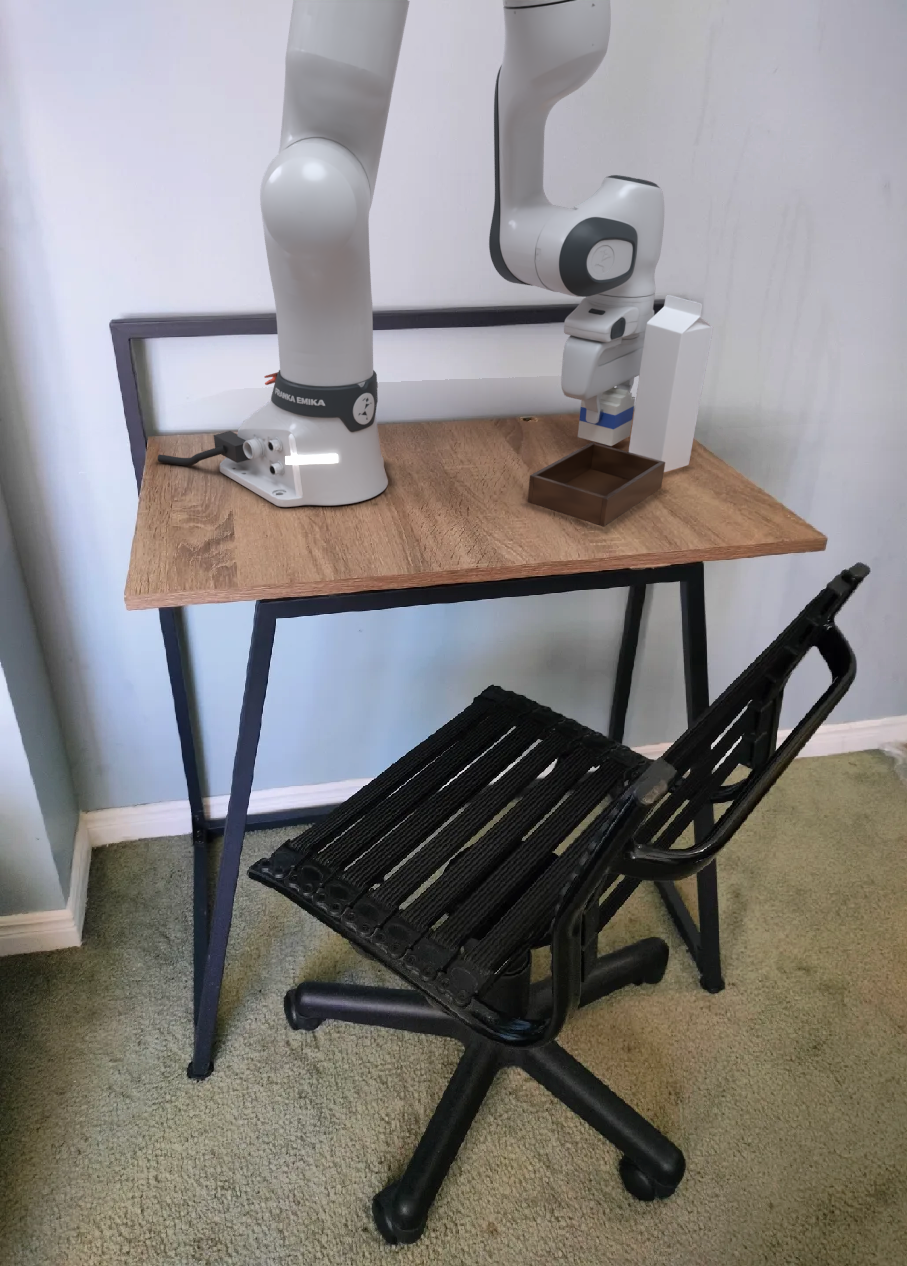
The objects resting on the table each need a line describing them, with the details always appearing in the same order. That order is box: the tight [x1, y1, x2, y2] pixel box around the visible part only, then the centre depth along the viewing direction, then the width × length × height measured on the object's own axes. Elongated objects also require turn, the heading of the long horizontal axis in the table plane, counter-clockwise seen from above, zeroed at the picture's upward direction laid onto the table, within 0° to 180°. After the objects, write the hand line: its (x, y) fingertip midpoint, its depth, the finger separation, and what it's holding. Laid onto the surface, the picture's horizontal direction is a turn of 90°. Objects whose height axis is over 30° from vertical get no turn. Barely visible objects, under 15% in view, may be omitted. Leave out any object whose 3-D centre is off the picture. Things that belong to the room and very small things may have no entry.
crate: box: [527, 441, 665, 528], centre depth 115 cm, size 11×15×4 cm
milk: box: [628, 294, 714, 473], centre depth 120 cm, size 6×6×22 cm
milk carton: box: [577, 386, 636, 447], centre depth 128 cm, size 5×5×7 cm
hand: (605, 415), depth 128 cm, fingers closed on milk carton, 5 cm apart
